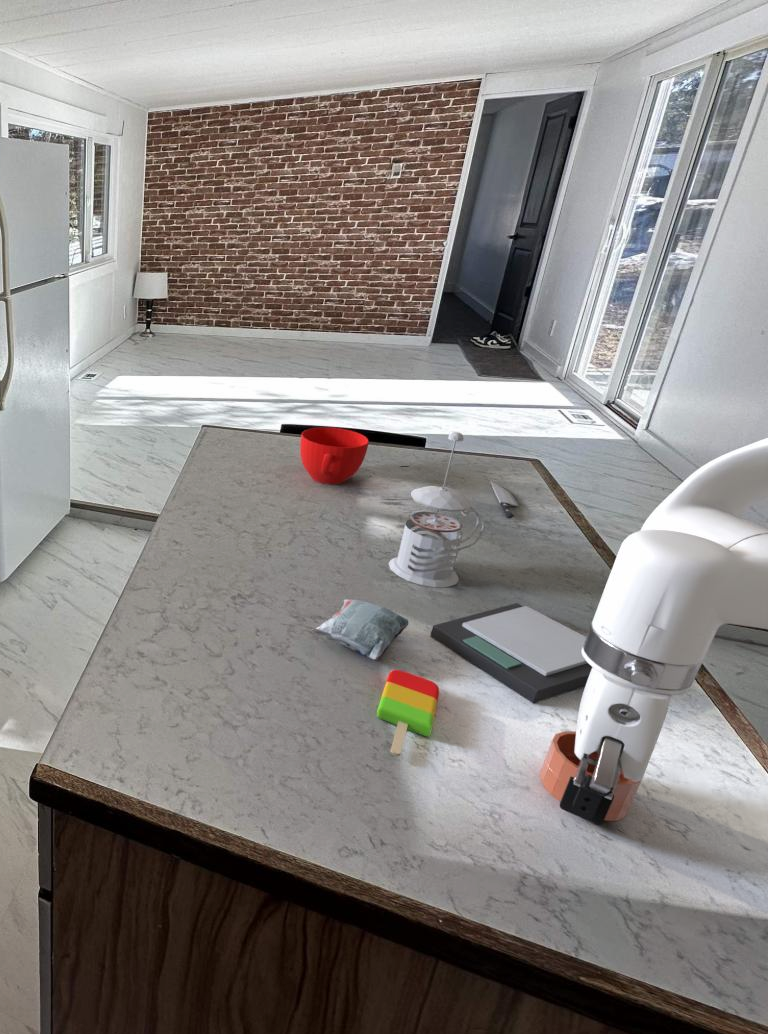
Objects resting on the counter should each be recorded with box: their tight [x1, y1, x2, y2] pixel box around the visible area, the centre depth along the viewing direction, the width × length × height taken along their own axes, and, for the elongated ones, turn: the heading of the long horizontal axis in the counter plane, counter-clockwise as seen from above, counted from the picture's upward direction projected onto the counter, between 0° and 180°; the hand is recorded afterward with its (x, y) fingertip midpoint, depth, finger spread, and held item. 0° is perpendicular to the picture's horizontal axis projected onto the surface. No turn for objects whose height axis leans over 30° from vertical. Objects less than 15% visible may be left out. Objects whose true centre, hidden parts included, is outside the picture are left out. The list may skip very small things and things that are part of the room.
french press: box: [388, 431, 485, 588], centre depth 103 cm, size 10×12×25 cm
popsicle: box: [376, 669, 440, 757], centre depth 78 cm, size 6×15×2 cm, turn 140°
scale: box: [430, 602, 592, 704], centre depth 87 cm, size 16×14×3 cm
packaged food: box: [311, 598, 409, 661], centre depth 92 cm, size 9×12×5 cm
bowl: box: [538, 730, 643, 822], centre depth 67 cm, size 7×7×6 cm
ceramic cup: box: [299, 426, 369, 485], centre depth 140 cm, size 13×17×10 cm
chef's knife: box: [490, 481, 520, 519], centre depth 129 cm, size 19×1×3 cm
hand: (582, 789), depth 67 cm, fingers closed on bowl, 7 cm apart
